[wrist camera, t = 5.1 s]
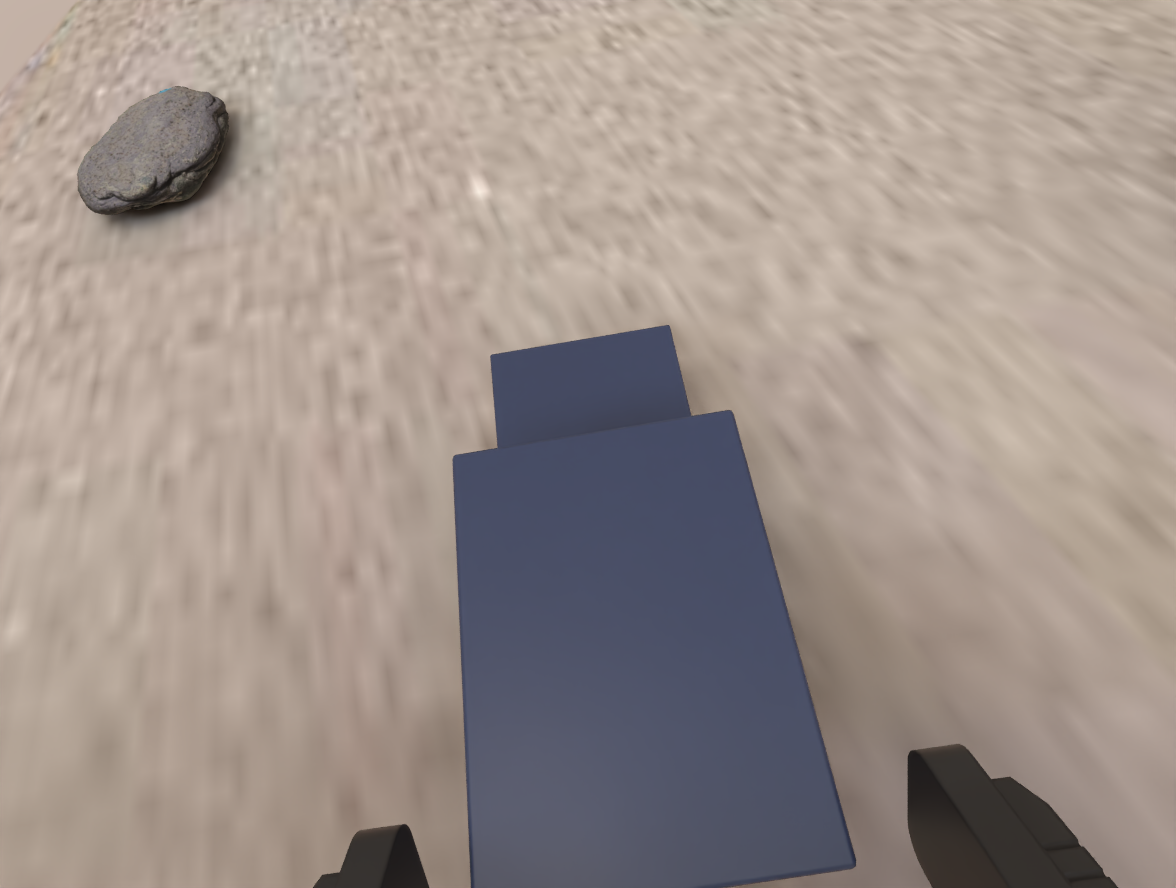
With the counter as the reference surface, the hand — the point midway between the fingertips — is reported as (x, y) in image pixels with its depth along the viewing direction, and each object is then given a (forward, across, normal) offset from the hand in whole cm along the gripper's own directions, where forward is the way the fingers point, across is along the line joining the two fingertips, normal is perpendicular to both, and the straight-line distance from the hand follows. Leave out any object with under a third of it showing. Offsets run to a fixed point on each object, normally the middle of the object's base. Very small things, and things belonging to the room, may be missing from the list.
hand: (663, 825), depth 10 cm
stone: (+27, -19, +15) cm, 36 cm away
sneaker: (+10, 0, -2) cm, 10 cm away
